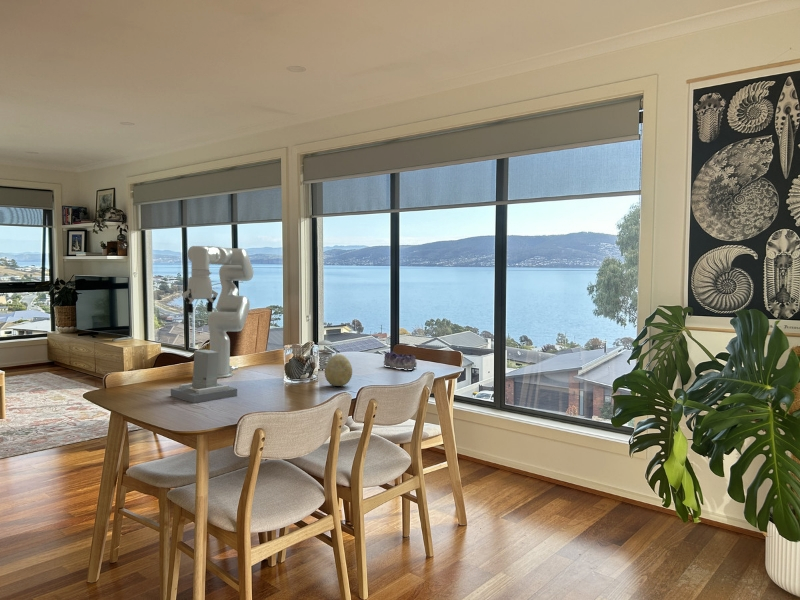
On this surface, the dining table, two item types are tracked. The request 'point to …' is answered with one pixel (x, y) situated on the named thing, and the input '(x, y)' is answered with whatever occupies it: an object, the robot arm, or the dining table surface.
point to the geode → (400, 360)
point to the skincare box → (205, 369)
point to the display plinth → (202, 393)
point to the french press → (325, 352)
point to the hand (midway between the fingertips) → (200, 312)
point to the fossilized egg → (338, 370)
